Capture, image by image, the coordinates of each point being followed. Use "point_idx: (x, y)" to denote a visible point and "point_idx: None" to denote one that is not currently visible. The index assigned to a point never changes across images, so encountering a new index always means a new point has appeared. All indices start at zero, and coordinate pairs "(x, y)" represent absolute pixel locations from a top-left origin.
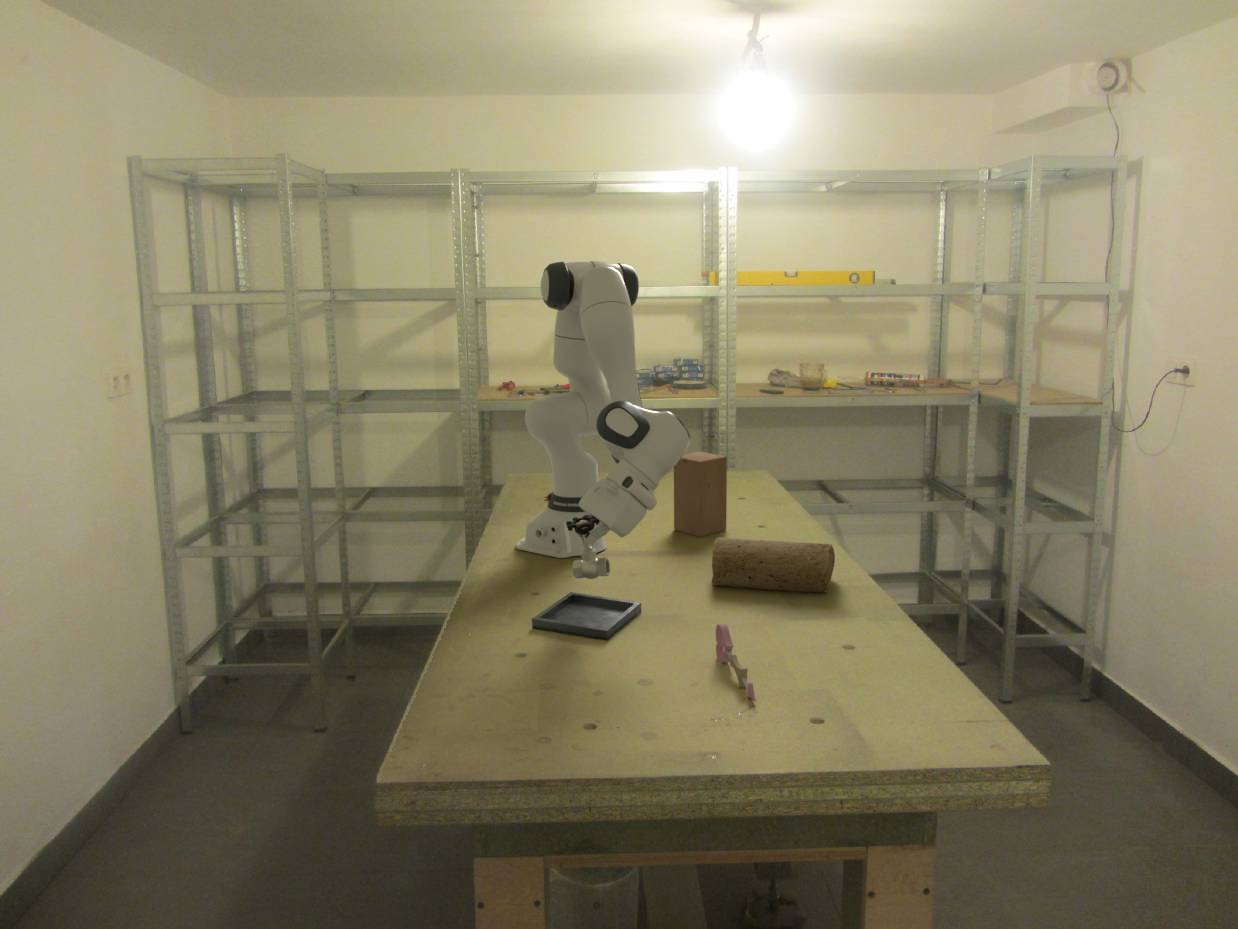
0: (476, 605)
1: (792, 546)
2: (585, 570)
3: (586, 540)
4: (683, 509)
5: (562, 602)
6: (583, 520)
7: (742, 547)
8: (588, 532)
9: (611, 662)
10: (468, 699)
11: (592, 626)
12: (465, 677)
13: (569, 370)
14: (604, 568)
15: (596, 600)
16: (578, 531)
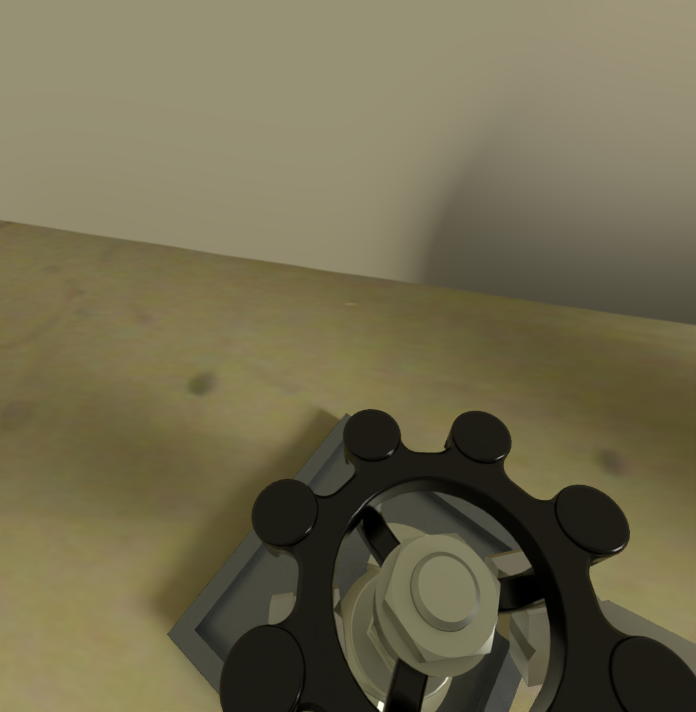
0: (516, 323)
1: None
2: (348, 590)
3: (274, 597)
4: None
5: (470, 520)
6: (441, 605)
7: None
8: (341, 644)
9: (29, 607)
10: (64, 289)
11: (227, 586)
12: (152, 289)
13: None
14: None
15: (498, 664)
16: (359, 528)
